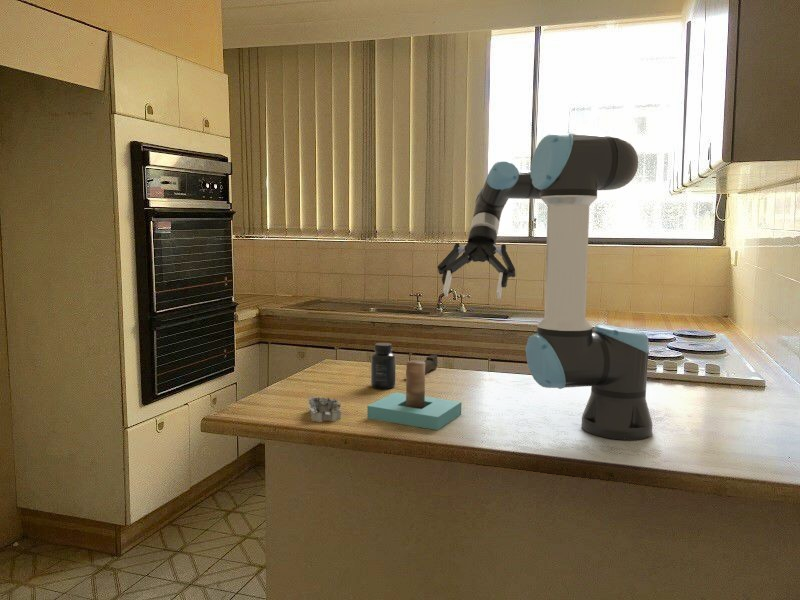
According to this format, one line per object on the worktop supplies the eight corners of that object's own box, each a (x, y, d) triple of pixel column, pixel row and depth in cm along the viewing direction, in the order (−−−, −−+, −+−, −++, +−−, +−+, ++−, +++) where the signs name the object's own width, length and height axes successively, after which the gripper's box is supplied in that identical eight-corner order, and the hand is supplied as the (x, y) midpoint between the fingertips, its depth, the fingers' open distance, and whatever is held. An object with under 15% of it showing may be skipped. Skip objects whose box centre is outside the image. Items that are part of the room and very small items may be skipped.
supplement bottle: (400, 386, 185) (401, 344, 184) (383, 390, 181) (383, 347, 179) (382, 382, 190) (383, 340, 189) (365, 386, 185) (366, 344, 184)
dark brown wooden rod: (417, 381, 193) (418, 365, 192) (405, 379, 195) (405, 363, 194) (444, 369, 209) (445, 354, 209) (433, 367, 211) (433, 353, 211)
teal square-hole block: (461, 414, 160) (461, 401, 160) (437, 430, 148) (438, 417, 147) (394, 403, 168) (395, 392, 168) (367, 418, 156) (367, 405, 155)
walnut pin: (427, 415, 159) (428, 361, 157) (419, 419, 155) (420, 365, 153) (410, 412, 161) (411, 359, 159) (402, 417, 157) (403, 363, 155)
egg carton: (341, 422, 153) (341, 405, 153) (308, 423, 152) (308, 406, 152) (339, 409, 164) (339, 393, 163) (308, 410, 162) (308, 393, 162)
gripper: (530, 244, 180) (522, 306, 167) (440, 242, 187) (426, 301, 174) (529, 224, 174) (520, 287, 162) (436, 223, 181) (421, 283, 169)
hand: (471, 294), depth 168 cm, fingers open, 13 cm apart
